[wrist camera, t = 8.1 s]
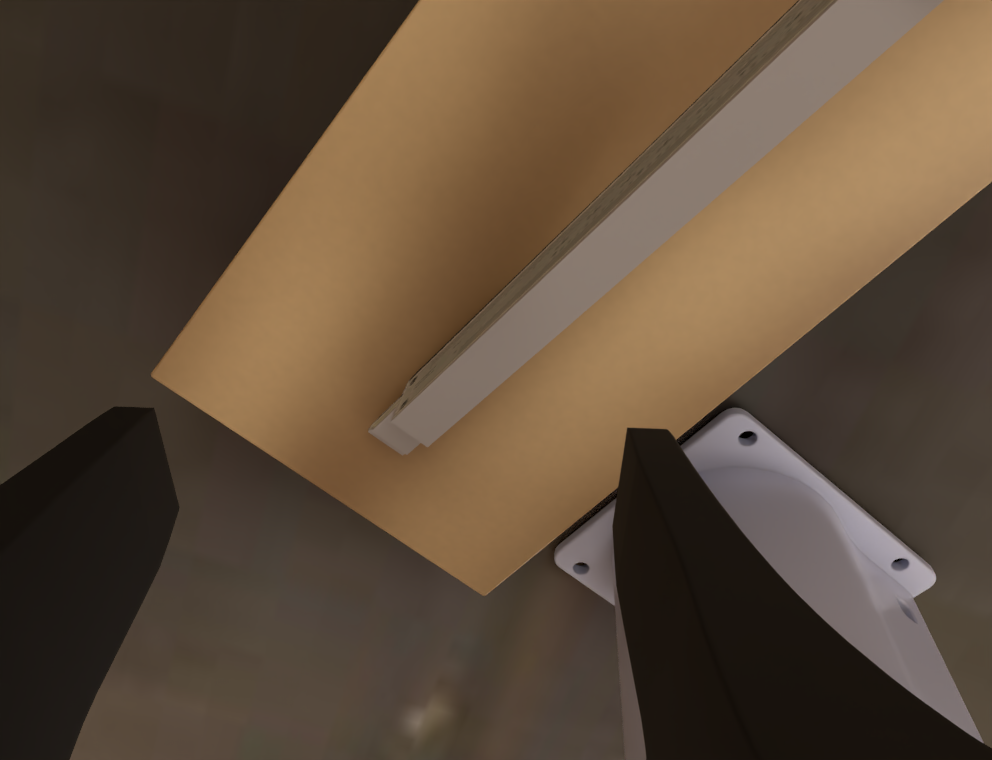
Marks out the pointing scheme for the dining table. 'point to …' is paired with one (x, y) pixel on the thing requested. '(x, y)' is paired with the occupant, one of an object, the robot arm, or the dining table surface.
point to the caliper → (651, 202)
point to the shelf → (533, 225)
